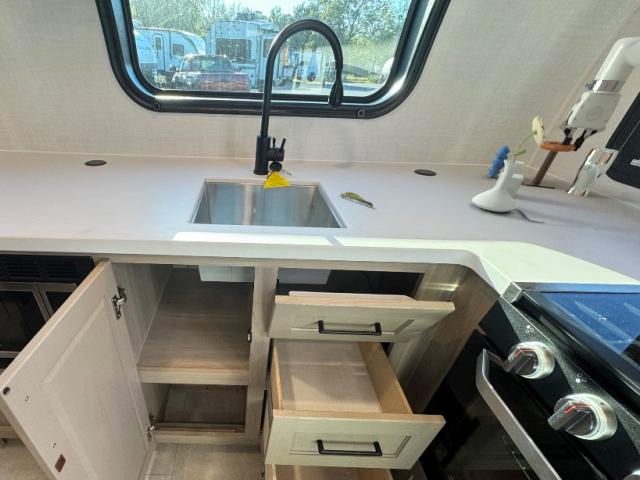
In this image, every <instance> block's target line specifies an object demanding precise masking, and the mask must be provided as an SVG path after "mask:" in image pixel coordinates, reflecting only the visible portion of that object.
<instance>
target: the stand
mask: <svg viewBox="0 0 640 480" xmlns="http://www.w3.org/2000/svg"><path fill="white" fill-rule="evenodd" d="M558 153H559V151H551V150H548V153H547V155H546V157H545V159H544V161H543V162H542V164H541V165H540V167H539V169H538V171H537V173H536V175H535V176H534V178H533V179H531V178H523V181H522V183H521V185H520V186H523V187H532V188H542V189H548V190H549V189H551V190H555V189H556V186H554V185H553V184H551V183H549V182H548V181H546V180H544V177H545V176H546V175H547V172H548V171H549V170H550V168H551V165H552V164H553V162H554V161H555V160H556V159H555V158H556V157H557V155H558Z"/></svg>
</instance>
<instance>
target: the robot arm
mask: <svg viewBox="0 0 640 480" xmlns="http://www.w3.org/2000/svg"><path fill="white" fill-rule="evenodd" d="M636 67H640V36H625V37H622V38H619V39H617V41H615V42H614V44H613V45H612V47H611V50H610V51H609V52H608V55H607V56H606V58H605V60H604V61H603V63H602V65H601V66H600V68H599V70H598V72H597V74H596V75H595V77H594V79H593V80H591V81H590V82H587V83H586V84H585V85H584V88H587V91H584V92H583V93H582V95H581V96H580V97H579V98H578V99H577V101H576V102H575V104H574V105H573V107H572V108H571V110H570V111H569V112H568V114H567V116H566V117H565V119H564V120H563V121H562V122H561V123H560V124H559V125H558V126H557V128H558V129H559V130H560V131H562V132H563V134H564V139H563V141H561V142H562V144H561V145H570V144H573V145H575V146H576V148H575V149H574V150H573V151H572V152H578V150H579V149H580V148H581V147H582V146H583V144H584V142H585V140H587V139H589V138H590V137H591V136H594V135H596V134H599V133H602V132H605V131H606V127H607V125H608V123H609V122H610V121H611V119H612V116H613V114H614V113H615V111H616V109H617V107H618V105H619V102H620V100H621V97H622V96H623V93H620V92H621V90H622V89H623V87H624V85H626V82H627V81H628V79H629V78H630V76H631V74H632V73H633V71H634V70H635V68H636ZM578 129H583V131H582V132H581V134H580V135H579V137H577V138H576V139H575V141H574V143H572V142H573V140H574V138H573V137H574V134H575V133H576V131H577V130H578Z"/></svg>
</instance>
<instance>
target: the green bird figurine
mask: <svg viewBox="0 0 640 480" xmlns="http://www.w3.org/2000/svg"><path fill="white" fill-rule="evenodd" d="M339 195H340V197H345V198H347V199H349V200H355V201H357V202H360V203H362V204H365V205H367V206H370V207H371V208H372V209H373V207H374V205H373V203H372V202H371V201H368V200H365V199H364V198H363V197H362V196H361V195H359V194H358V193H355V192H351V191H348V192H344V193H343V192H341V193H339Z"/></svg>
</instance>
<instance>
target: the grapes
mask: <svg viewBox="0 0 640 480" xmlns="http://www.w3.org/2000/svg"><path fill="white" fill-rule="evenodd" d="M498 150H499V151H498V152H496V153H495V156H496V157H495V158H493V159H492V160H491V165H492V166H491V167H489V168H488V177H489V178H495V177H497V176H498V175H499V174H501V170H502V169H503V168H505V163H504V160H511V159H510V158H509V157H508V154H509V153H511V150H510V148H509V146H508V145H503V146H501V147H500V148H499V149H498Z"/></svg>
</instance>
